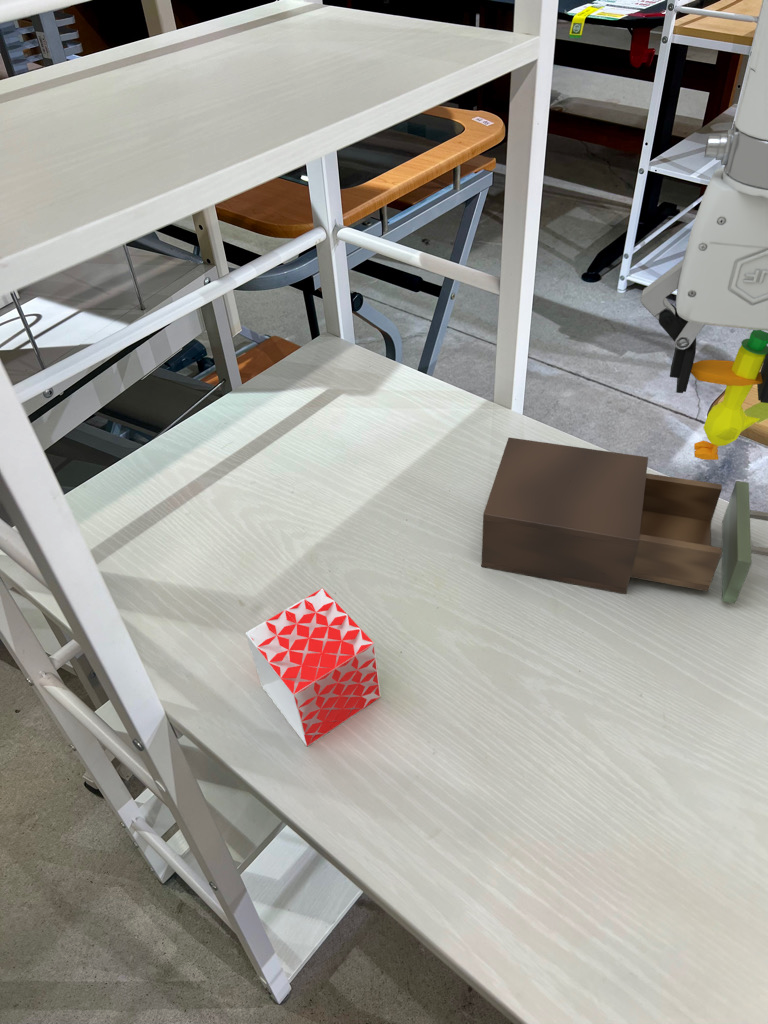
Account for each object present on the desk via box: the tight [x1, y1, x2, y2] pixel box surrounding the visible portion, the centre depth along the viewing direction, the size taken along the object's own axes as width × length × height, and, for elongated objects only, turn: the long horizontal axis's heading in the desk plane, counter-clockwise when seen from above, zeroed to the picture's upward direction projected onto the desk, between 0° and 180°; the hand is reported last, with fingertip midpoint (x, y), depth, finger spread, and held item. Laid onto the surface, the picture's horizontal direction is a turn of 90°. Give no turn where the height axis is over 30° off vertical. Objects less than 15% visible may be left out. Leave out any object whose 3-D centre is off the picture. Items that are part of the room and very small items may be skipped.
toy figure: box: [691, 329, 768, 461], centre depth 62 cm, size 7×4×12 cm, turn 77°
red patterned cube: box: [245, 587, 382, 747], centre depth 65 cm, size 8×8×8 cm
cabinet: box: [480, 436, 649, 595], centre depth 77 cm, size 15×13×8 cm
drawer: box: [630, 473, 768, 605], centre depth 74 cm, size 18×11×6 cm, turn 72°
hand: (721, 386), depth 61 cm, fingers closed on toy figure, 5 cm apart
